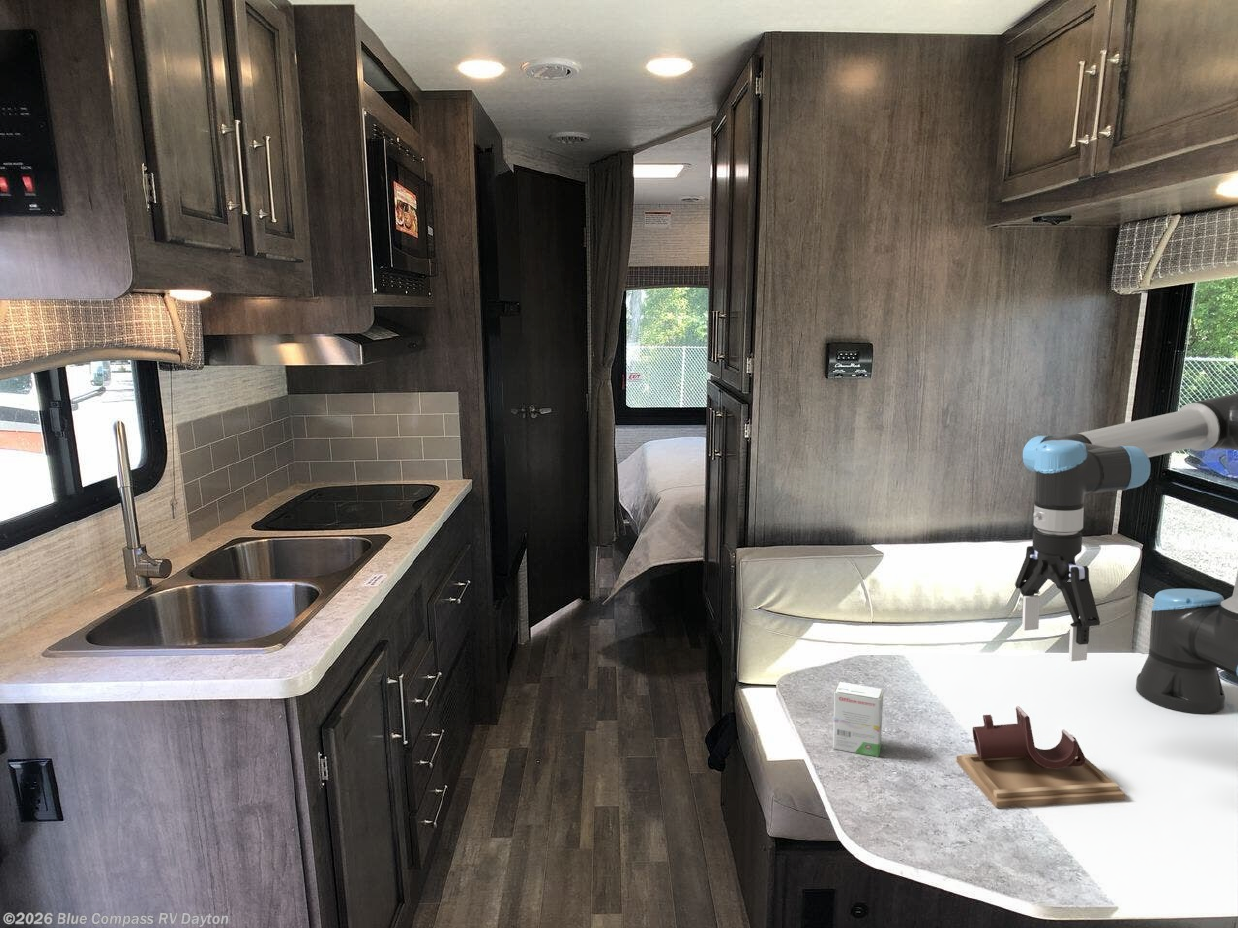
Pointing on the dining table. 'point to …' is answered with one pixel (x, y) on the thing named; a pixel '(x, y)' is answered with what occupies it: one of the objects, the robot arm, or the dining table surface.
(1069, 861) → the dining table surface
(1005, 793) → the side panel
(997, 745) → the bracket
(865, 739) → the ink box
